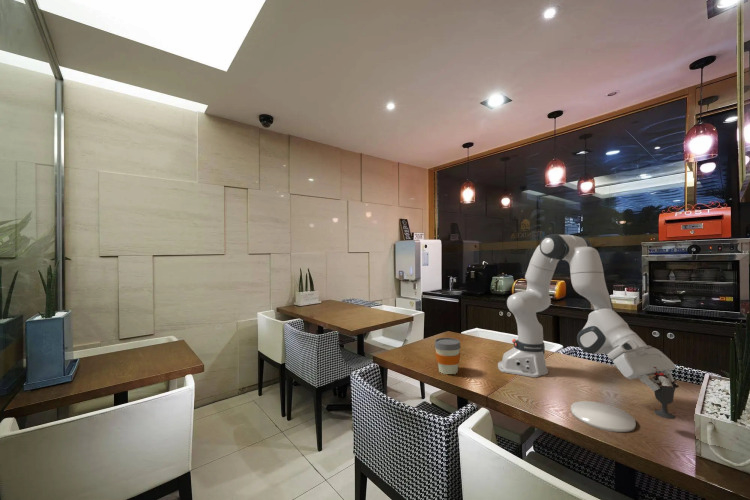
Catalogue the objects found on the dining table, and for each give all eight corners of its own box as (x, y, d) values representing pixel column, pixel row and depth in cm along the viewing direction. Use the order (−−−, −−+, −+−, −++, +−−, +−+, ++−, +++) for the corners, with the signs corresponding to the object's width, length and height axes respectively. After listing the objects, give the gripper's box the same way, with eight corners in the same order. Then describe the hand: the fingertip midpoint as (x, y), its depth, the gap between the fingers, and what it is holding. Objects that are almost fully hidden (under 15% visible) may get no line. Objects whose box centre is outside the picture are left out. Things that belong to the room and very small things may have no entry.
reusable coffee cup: (451, 378, 140) (450, 346, 141) (430, 371, 150) (429, 341, 150) (466, 371, 149) (465, 340, 149) (445, 364, 158) (444, 336, 158)
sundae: (644, 410, 99) (643, 364, 99) (663, 408, 100) (661, 363, 100) (665, 421, 93) (663, 372, 93) (685, 419, 93) (683, 371, 93)
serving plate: (579, 427, 99) (579, 423, 99) (565, 401, 116) (564, 398, 116) (647, 436, 94) (647, 432, 94) (621, 408, 111) (621, 404, 111)
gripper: (644, 349, 110) (678, 387, 101) (603, 356, 104) (635, 397, 95) (658, 340, 106) (695, 379, 97) (616, 347, 100) (652, 388, 91)
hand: (665, 388), depth 96 cm, fingers closed on sundae, 7 cm apart
